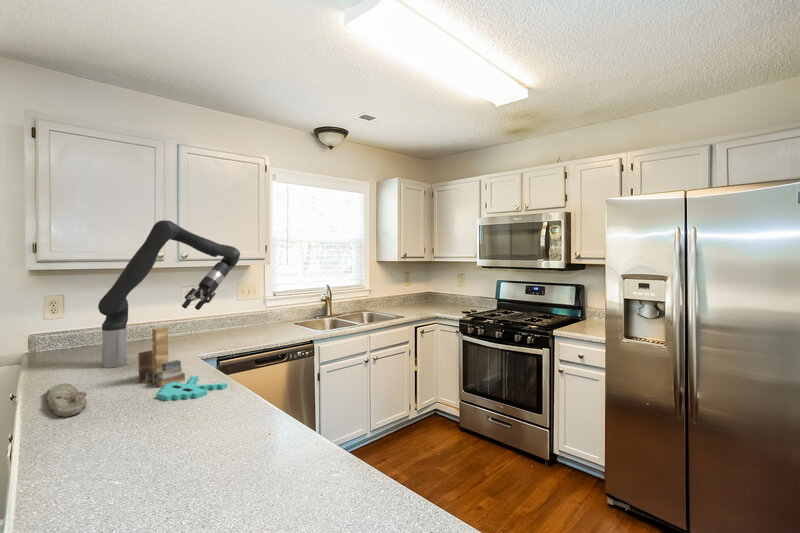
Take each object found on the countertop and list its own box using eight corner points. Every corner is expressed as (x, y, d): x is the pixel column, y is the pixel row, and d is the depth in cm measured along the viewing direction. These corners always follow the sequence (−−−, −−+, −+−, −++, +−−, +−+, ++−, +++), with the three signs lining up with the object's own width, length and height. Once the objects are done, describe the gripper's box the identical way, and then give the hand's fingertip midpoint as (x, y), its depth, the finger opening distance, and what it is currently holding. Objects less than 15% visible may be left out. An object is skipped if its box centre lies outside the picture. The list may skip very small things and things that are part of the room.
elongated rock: (76, 391, 156) (42, 399, 149) (74, 378, 156) (41, 385, 149) (93, 411, 132) (53, 422, 125) (91, 396, 132) (52, 406, 125)
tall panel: (152, 381, 164) (152, 329, 163) (164, 378, 168) (164, 327, 167) (156, 382, 163) (156, 329, 162) (168, 379, 167) (167, 327, 166)
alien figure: (194, 380, 167) (146, 395, 149) (194, 375, 167) (145, 390, 149) (227, 389, 158) (178, 406, 140) (227, 383, 158) (178, 399, 140)
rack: (138, 381, 164) (138, 353, 163) (162, 374, 173) (161, 347, 172) (153, 385, 160) (152, 355, 159) (176, 378, 169) (176, 350, 168)
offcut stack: (155, 385, 159) (155, 365, 158) (179, 378, 168) (179, 359, 168) (161, 387, 157) (161, 366, 157) (185, 380, 166) (185, 360, 166)
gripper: (196, 275, 188) (173, 301, 178) (217, 276, 182) (195, 304, 172) (206, 285, 193) (184, 311, 183) (227, 287, 187) (206, 314, 177)
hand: (189, 308), depth 177 cm, fingers open, 8 cm apart
